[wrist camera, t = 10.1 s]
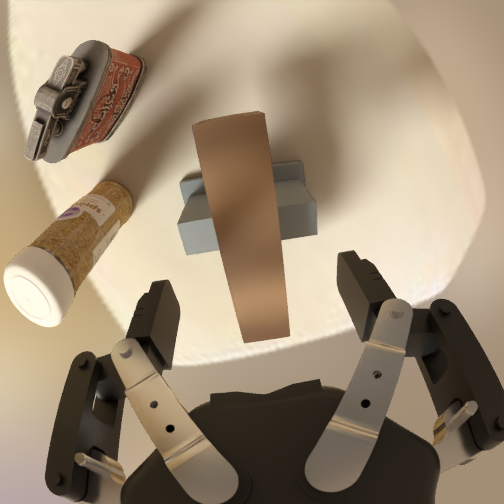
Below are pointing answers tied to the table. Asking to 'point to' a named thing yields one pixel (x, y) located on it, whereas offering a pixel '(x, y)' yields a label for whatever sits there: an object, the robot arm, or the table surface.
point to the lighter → (83, 100)
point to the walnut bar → (245, 220)
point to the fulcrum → (288, 205)
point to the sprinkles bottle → (66, 254)
